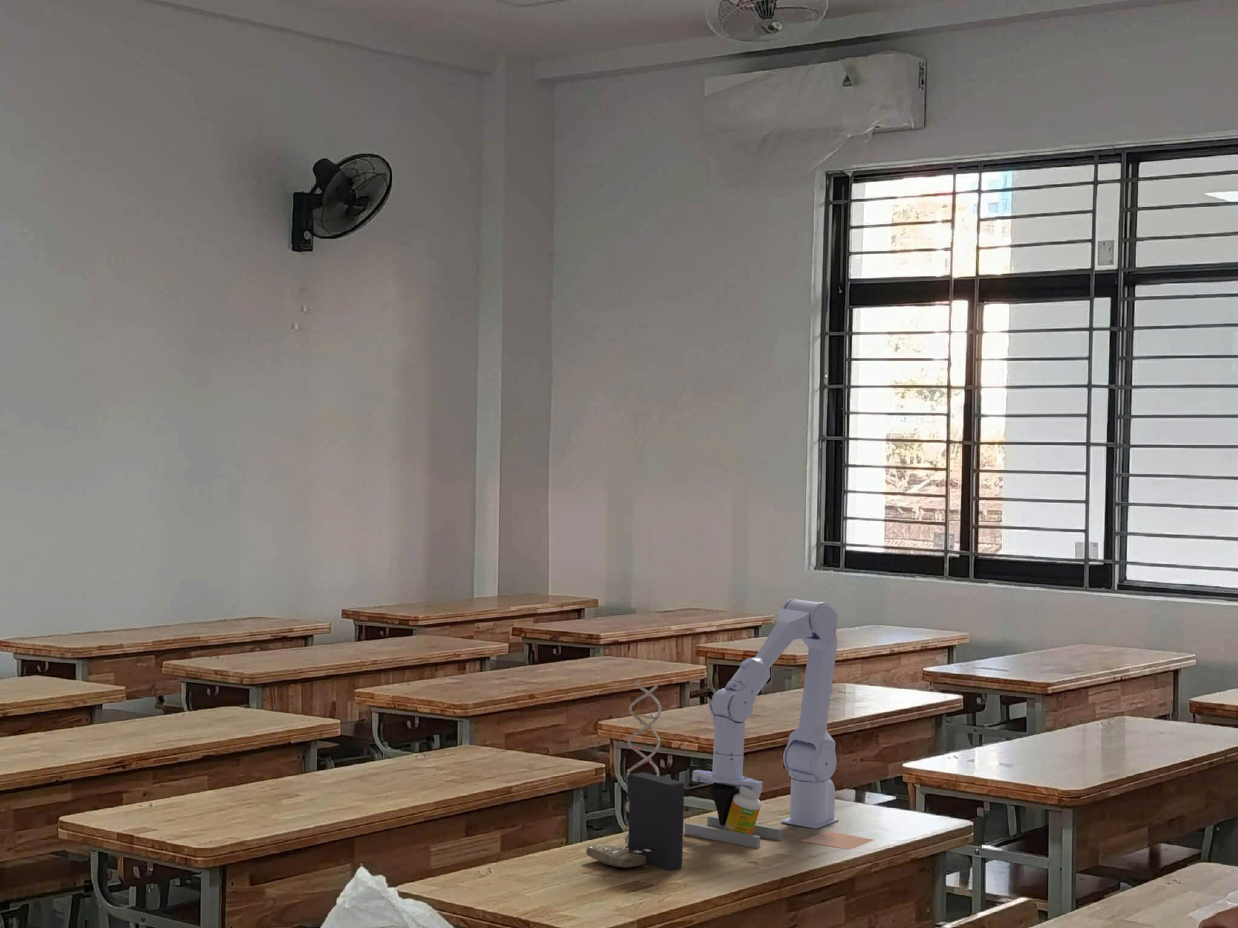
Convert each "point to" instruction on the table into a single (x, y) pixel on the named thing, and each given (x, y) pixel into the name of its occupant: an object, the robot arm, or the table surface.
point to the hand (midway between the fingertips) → (724, 824)
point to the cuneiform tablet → (617, 855)
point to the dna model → (647, 726)
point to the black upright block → (656, 819)
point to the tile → (837, 840)
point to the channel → (732, 833)
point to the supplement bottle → (743, 811)
